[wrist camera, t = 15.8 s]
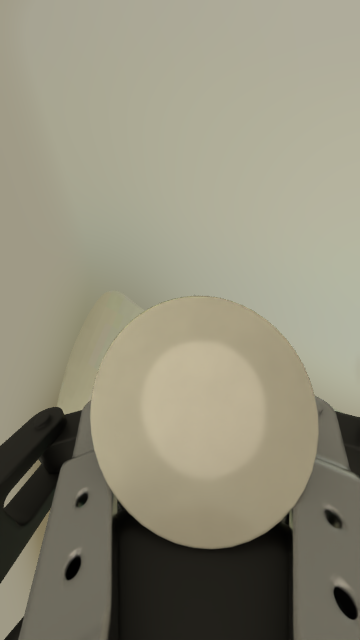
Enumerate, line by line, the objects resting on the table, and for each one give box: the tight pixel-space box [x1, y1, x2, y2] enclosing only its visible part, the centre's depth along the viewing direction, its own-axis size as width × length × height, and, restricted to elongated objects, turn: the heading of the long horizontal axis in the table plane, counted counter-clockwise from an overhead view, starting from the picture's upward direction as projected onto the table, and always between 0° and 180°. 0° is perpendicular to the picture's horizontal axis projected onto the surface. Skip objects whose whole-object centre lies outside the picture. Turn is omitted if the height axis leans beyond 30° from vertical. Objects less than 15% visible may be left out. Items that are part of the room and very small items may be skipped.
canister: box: [90, 296, 319, 549], centre depth 9 cm, size 6×6×11 cm
